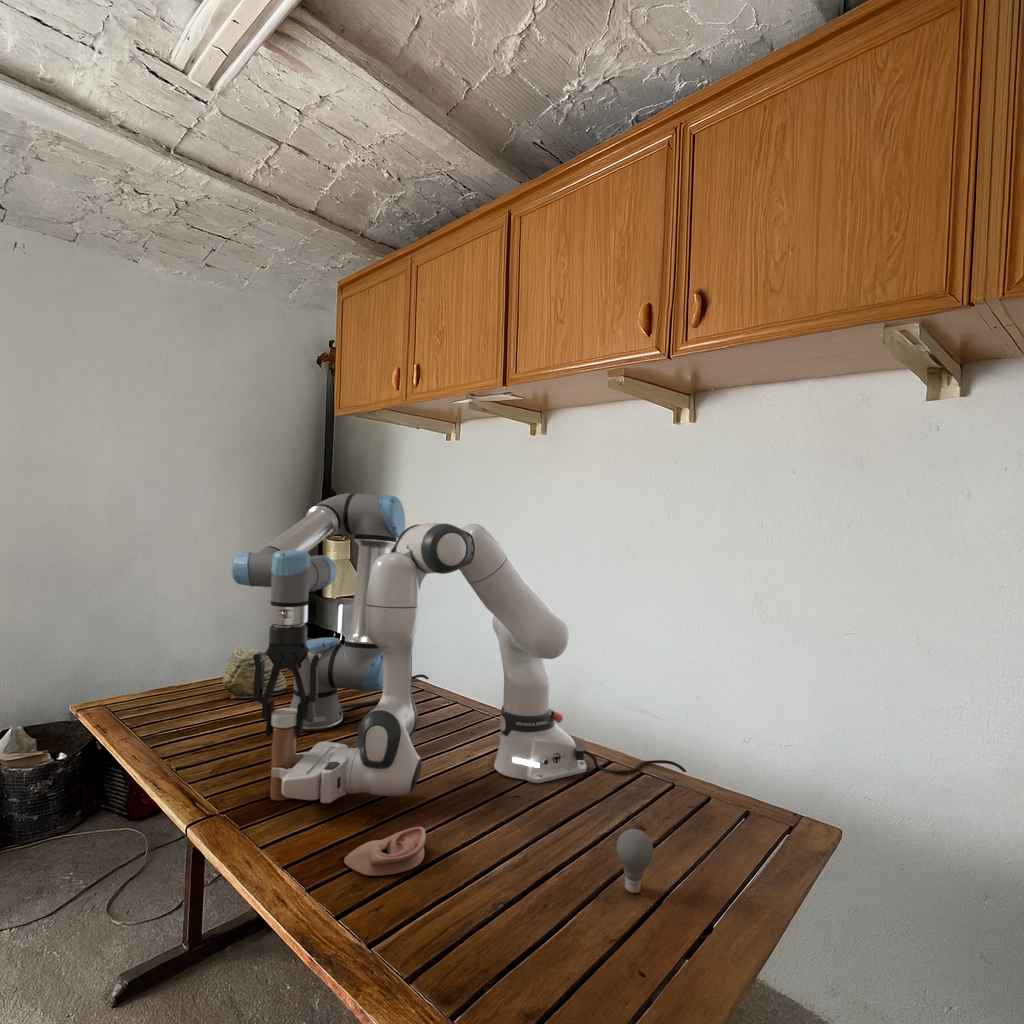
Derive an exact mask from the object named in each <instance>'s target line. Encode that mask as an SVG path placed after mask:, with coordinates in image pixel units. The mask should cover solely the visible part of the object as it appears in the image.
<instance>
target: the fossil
mask: <svg viewBox="0 0 1024 1024" xmlns="http://www.w3.org/2000/svg"><path fill="white" fill-rule="evenodd" d="M264 651H265V650H264V649H263V648H260V647H258V648H251V647H247V646H246V647H245V646H238V647H237V648H236V649H235V650H233V651H232V653H231V656H230V657H229V659H228V660H227V663H226V666H225V668H224V671H223V675H222V676H223V677H222V685H223V687H224V688H225V690H226V691H228V693H229V698H230V699H250V698H252V699H253V691H254V678H255V663H254V659H253V656H254V655H255V654H256V653H257V652H264ZM273 665H274V664H273V663H272V662H271V660H270V659H269V657H268V656H267V657H266V661H265V667H264V680H263V694H264V693H265V690H266V687H267V684H268V681H269V678H270V675H271V671H272V668H273ZM287 687H288V686H287V680H286V678H285V676H284V674H283V673H282V672H281V671H280V673H279V676H278V679H277V682H276V685H275V688H274V691H273V694H272V696H275V695H281V694H284V693H285V691H286V689H287Z"/></svg>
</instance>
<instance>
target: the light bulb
mask: <svg viewBox="0 0 1024 1024" xmlns="http://www.w3.org/2000/svg"><path fill="white" fill-rule="evenodd" d="M615 849H616V854H617V857H618V859H619V861H620V863H621V865H622V867H623V873H624V874H623V875H624V876H625V878H624V888H625V890H627V891H628V892H630V893H634V894H635V893H639V892H640V891H641V889H642V887H641V886H642V879H643V877H644V875H645V871H646V868H647V867H648V866H649V864H650V863H651V861H652V859H653V855H654V847H653V843H652V841H651V838H649V836H648V835H647V834H646V833H645V832H643V831H642V830H641V829H636V828H629V829H627V830H625V831H623V832H622V833H621V834H620V835H619V837H618V839H617V841H616V847H615Z"/></svg>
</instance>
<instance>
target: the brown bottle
mask: <svg viewBox="0 0 1024 1024" xmlns="http://www.w3.org/2000/svg"><path fill="white" fill-rule="evenodd" d="M296 728H297V725H295V726H293V727H288V728H277V727H273V729H272V734H271V757H270V758H271V759H270V771H271V770H272V769H273V768H274V767H275V766H283V768H284V769H287V770H288V768H291V769H292V768H293V767H294V766H295V765H296V764H297V763H296V754H297V744H298V743H297V741H298V737H296ZM281 785H282V779H280V778H279V777H272V776H271V775H270V785H269V786H270V787H269V798H270V799H271V800H273V801H277V802H281V801H288V800H290V799H291V798H287V797H285V796H283V795H282V793H281Z"/></svg>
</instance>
